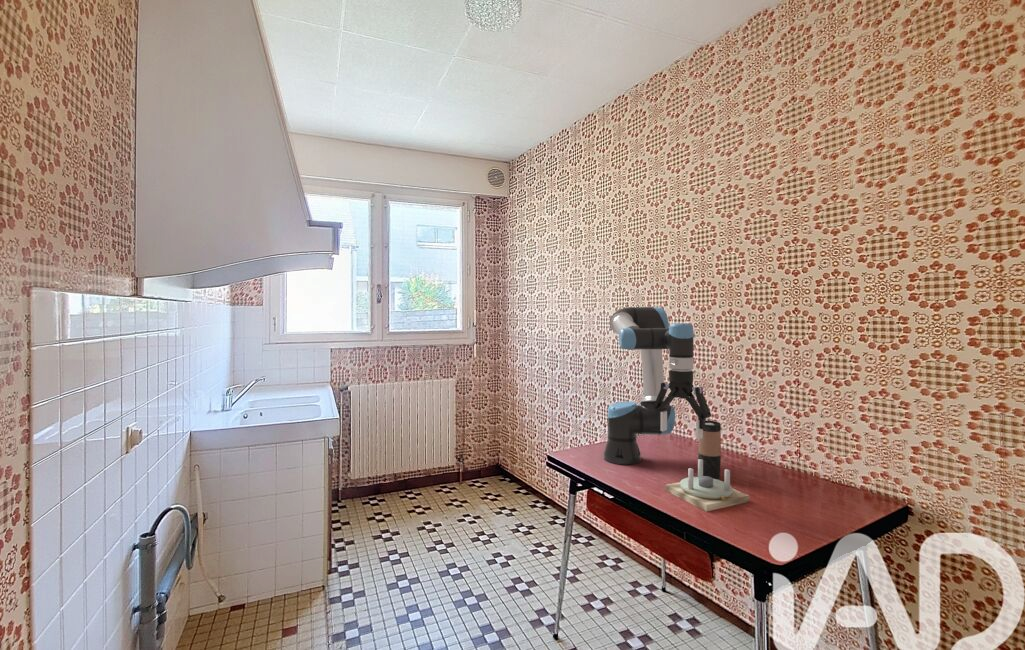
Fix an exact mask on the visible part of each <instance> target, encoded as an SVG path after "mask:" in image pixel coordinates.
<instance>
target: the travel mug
mask: <svg viewBox="0 0 1025 650" xmlns="http://www.w3.org/2000/svg"><path fill="white" fill-rule="evenodd" d="M721 426H722V425H721V422H719V421H716V420H705V429H703V438H701V439H698V451H697V452H698V459H702V460H703V476H708V477H711V478H713V479H717V480H720V478H721V463H722V462H721V459H722V456H721V455H722V444H721V443H722V430H721V429H722V428H721Z"/></svg>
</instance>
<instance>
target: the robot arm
mask: <svg viewBox="0 0 1025 650" xmlns="http://www.w3.org/2000/svg"><path fill="white" fill-rule="evenodd" d="M609 327H610V329H611V331H613V332H614V334H617V335H618V344H619V348H620V349H621V350H628V351H632V350H633V351H634V350H640V352H641V353H640V355H641V368H642V369H641V370H642V373H641V374H642V387H643V398H642V399H641V400H640V401H639V402H640V405H638V404H637V403H636V402H635V401H619V402H614V403H612V404H610V405H609V406H608V408H607V417H606V418H607V441H606V444H605V447H604V450H603V460H605V461H606V462H609V463H611V464H615V465H616V464H617V465H634V464H638V463H641V461H642V453H641V451H640V448H639V445H638V441H637V435H656V436H657V435H658V436H662V435H670V434H671V433H672V432H673V430H674V427H675V424H676V410H675V407H674V406H673V405H671V403H672V401H674V399H676V398H677V399H679V398H680V399H681V400H683V399H684V400H686V402H688V403H689V406H690V407H691V409H692V410H693V411H694V413H695V414H696V416H697V418H695V440H699V439H701V438H703V429H705V421H706V419H707V418H710V417H712V413H711V411H710V408H709V406H708V404H707V401H706V398H705V396H704V392H703V391H704V390H703V389H704V388H703V387H702V386H694V371H693V369H694V337H695V332H694V325H693V323H690V322H688V323H687V322H677V323H676V322H673V323H670V324H669V319H668V314H667V311H666V310H665V309H664V308H662V307H660V306H659V307H658V306H638V307H637V306H635V307H633V306H628V307H624V308H620V309H619V310H616V311H615V312H614V313H613V314H612V315H611V317H610V318H609ZM663 350H668V354H669V357H668V360H669V361H668V365H669V366H668V367H669V369H670V370H669V371H668V380H669V382H667V381H666V382H665V375H664V360H663ZM668 390H670V392H669V393H668ZM667 393H668V394H667ZM693 393H694V394H695V396H694V394H693ZM666 395H667V397H666Z"/></svg>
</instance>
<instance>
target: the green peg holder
mask: <svg viewBox="0 0 1025 650" xmlns="http://www.w3.org/2000/svg"><path fill="white" fill-rule="evenodd" d="M687 470H688V471H687V472H688V473H687V474H688V475H687V476H688V477H685V478H683V479H681V480H680V481H679V482H680V487H681V489H682V490H683V491H685V492H686V493H688V494H691V495H694V496H697V497H702V498H709V499H721V496H726V498H728V497H730V496H731V495H732V494H733V489H734V488H733V487H732V485H731V470H730V469H727V468H726V469H724V478H723V479H724V481H722V480H720V479H713V478H711V477H708V476H703V460H702V459H699V458H698V459H697V476H694V471H695V470H694V468H691V467H690V468H688V469H687Z"/></svg>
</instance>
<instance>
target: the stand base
mask: <svg viewBox="0 0 1025 650" xmlns="http://www.w3.org/2000/svg"><path fill="white" fill-rule="evenodd" d="M680 482H681V481H679V482H678V481H677V482H673V483H667V484H665V491H666V492H667V493H669V494H672V495H673V496H675V497H677V498H679V499H681V500H683V501H685V502H687V503H688V504H691V505H693V506H695V507H697V508H699V509H700V510H703V511H704V512H706V513H707V512H710V511H714V510H720V509H723V508H728V507H732V506H736V505H741V504H745V503H749V502H750V494H746V493H744V492H742V491H739V490H737V489H735V488H733V494H732V495H731V496H730V497H728V498H726V496H721V499H709V498H702V497H697V496H694V495H691V494H688V493H686V492H685V491H683V490H682V489H681V487H680Z"/></svg>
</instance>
